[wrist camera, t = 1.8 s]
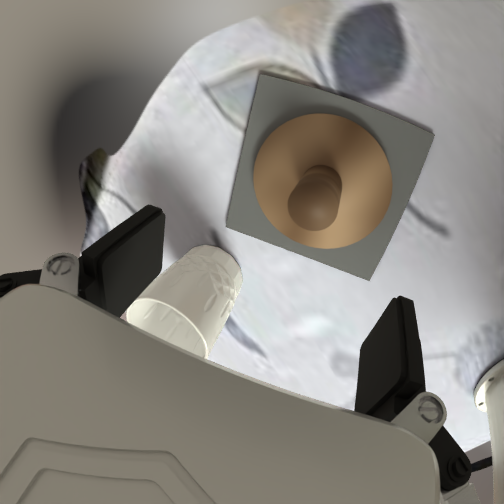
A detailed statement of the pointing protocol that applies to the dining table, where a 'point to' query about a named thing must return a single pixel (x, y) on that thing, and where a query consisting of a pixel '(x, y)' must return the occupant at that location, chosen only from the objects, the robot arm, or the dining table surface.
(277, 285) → the dining table surface
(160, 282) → the white cup
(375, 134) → the mat
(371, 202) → the lid
